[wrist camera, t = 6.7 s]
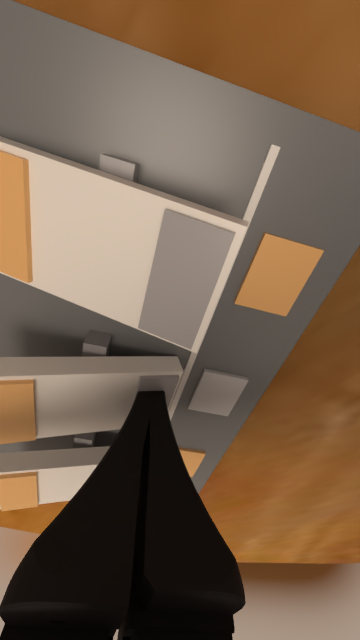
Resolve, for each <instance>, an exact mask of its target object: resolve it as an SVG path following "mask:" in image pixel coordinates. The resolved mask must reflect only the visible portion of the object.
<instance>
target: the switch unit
mask: <svg viewBox="0 0 360 640" xmlns="http://www.w3.org/2000/svg"><path fill="white" fill-rule="evenodd" d="M0 136H1V137H4V138H7V139H10V140H13V141H16V142H19V143H22V144H24V145H27V146H30V147H33V148H36V149H39V150H42V151H45V152H48V153H51V154H54V155H56V156H59V157H62V158H65V159H68V160H71V161H74V162H77V163H80V164H83V165H86V166H88V167H91V168H94V169H97V170H100V171H103V172H106V173H109V174H112V175H115V176H118V177H120V178H123V179H126V180H129V181H132V182H135V183H138V184H141V185H144V186H147V187H150V188H152V189H155V190H158V191H161V192H164V193H167V194H170V195H173V196H176V197H179V198H182V199H185V200H187V201H190V202H193V203H196V204H199V205H202V206H205V207H208V208H211V209H214V210H217V211H219V212H222V213H225V214H228V215H231V216H234V217H237V218H240V219H243V220H246V221H249V223H248V226H247V229H246V231H245V234H244V236H243V239H242V241H241V244H240V246H239V249H238V251H237V254H236V256H235V259H234V261H233V264H232V266H231V269H230V271H229V274H228V276H227V279H226V281H225V284H224V286H223V289H222V291H221V294H220V296H219V299H218V301H217V304H216V306H215V309H214V311H213V314H212V316H211V319H210V321H209V324H208V326H207V329H206V331H205V334H204V336H203V339H202V341H201V344H200V346H199V349H198V351H197V353H194V352H192V351H189V350H187V349H184V348H182V347H180V346H177V345H175V344H172V343H170V342H167V341H165V340H162V339H160V338H158V337H155V336H153V335H150V334H148V333H145V332H143V331H140V330H138V329H136V328H133V327H131V326H128V325H126V324H123V323H121V322H119V321H116V320H114V319H111V318H109V317H106V316H104V315H101V314H99V313H97V312H94V311H92V310H89V309H87V308H84V307H82V306H79V305H77V304H75V303H72V302H70V301H67V300H65V299H62V298H60V297H58V296H55V295H53V294H50V293H48V292H45V291H43V290H40V289H38V288H36V287H33V286H31V285H28V284H26V283H23V282H21V281H18V280H16V279H14V278H11V277H9V276H6V275H4V274H1V273H0V357H111V356H178V359H179V361H180V364H181V366H182V369H183V371H184V372H183V374H182V377H181V379H180V382H179V385H178V387H177V390H176V392H175V395H174V398H173V400H172V403H171V406H170V408H169V411H168V413H169V417H170V421H171V425H172V428H173V432H174V435H175V438H176V442H177V445H178V447H179V450H180V453H181V456H182V458H183V461H184V463H185V466H186V468H187V471H188V473H189V475H190V478H191V480H192V482H193V484H194V486H195V488H196V490H197V492H198V493H199V492H200V490H201V489H202V487H203V486H204V484H205V483H206V481H207V480H208V478H209V477H210V475H211V473H212V472H213V470H214V469H215V467H216V466H217V464H218V463H219V461H220V460H221V458H222V456H223V455H224V453H225V452H226V450H227V449H228V447H229V446H230V444H231V443H232V441H233V440H234V438H235V436H236V435H237V433H238V432H239V430H240V429H241V427H242V426H243V424H244V423H245V421H246V420H247V418H248V416H249V415H250V413H251V412H252V410H253V409H254V407H255V406H256V404H257V403H258V401H259V400H260V398H261V396H262V395H263V393H264V392H265V390H266V389H267V387H268V386H269V384H270V383H271V381H272V380H273V378H274V376H275V375H276V373H277V372H278V370H279V369H280V367H281V366H282V364H283V363H284V361H285V360H286V358H287V356H288V355H289V353H290V352H291V350H292V349H293V347H294V346H295V344H296V343H297V341H298V340H299V338H300V336H301V335H302V333H303V332H304V330H305V329H306V327H307V326H308V324H309V323H310V321H311V320H312V318H313V316H314V315H315V313H316V312H317V310H318V309H319V307H320V306H321V304H322V303H323V301H324V300H325V298H326V296H327V295H328V293H329V292H330V290H331V289H332V287H333V286H334V284H335V283H336V281H337V280H338V278H339V276H340V275H341V273H342V272H343V270H344V269H345V267H346V266H347V264H348V263H349V261H350V260H351V258H352V256H353V255H354V253H355V252H356V250H357V249H358V247H359V246H360V132H358V131H355V130H353V129H350V128H347V127H345V126H342V125H339V124H337V123H334V122H332V121H329V120H326V119H324V118H321V117H318V116H316V115H313V114H310V113H308V112H305V111H303V110H300V109H297V108H295V107H292V106H289V105H287V104H284V103H281V102H279V101H276V100H273V99H271V98H268V97H266V96H263V95H260V94H258V93H255V92H252V91H250V90H247V89H244V88H242V87H239V86H237V85H234V84H231V83H229V82H226V81H223V80H221V79H218V78H215V77H213V76H210V75H207V74H205V73H202V72H200V71H197V70H194V69H192V68H189V67H186V66H184V65H181V64H178V63H176V62H173V61H171V60H168V59H165V58H163V57H160V56H157V55H155V54H152V53H149V52H147V51H144V50H141V49H139V48H136V47H134V46H131V45H128V44H126V43H123V42H120V41H118V40H115V39H112V38H110V37H107V36H105V35H102V34H99V33H97V32H94V31H91V30H89V29H86V28H83V27H81V26H78V25H75V24H73V23H70V22H68V21H65V20H62V19H60V18H57V17H54V16H52V15H49V14H46V13H44V12H41V11H39V10H36V9H33V8H31V7H28V6H25V5H23V4H20V3H17V2H15V1H12V0H0ZM119 431H120V429H116V430H107V431H99V432H90V433H81V434H72V435H63V436H54V437H46V438H37V439H36V440H33V441H24V442H15V443H7V444H0V453H8V452H24V451H41V450H57V449H73V448H89V447H105V446H111V444H112V443H113V441H114V439H115V438H116V436H117V434H118V433H119Z"/></svg>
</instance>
